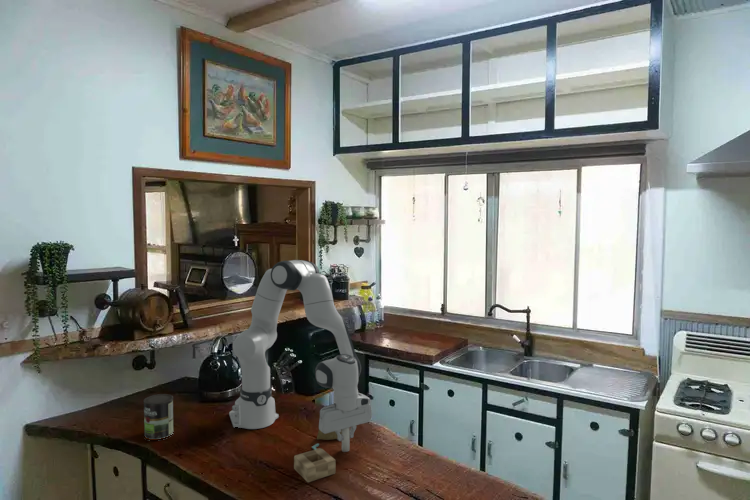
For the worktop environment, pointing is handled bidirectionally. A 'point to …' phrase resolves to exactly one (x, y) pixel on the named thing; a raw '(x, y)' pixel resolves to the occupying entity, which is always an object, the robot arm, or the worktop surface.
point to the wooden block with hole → (314, 464)
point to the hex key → (315, 446)
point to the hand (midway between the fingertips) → (345, 438)
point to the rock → (327, 435)
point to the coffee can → (158, 416)
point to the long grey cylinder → (346, 439)
